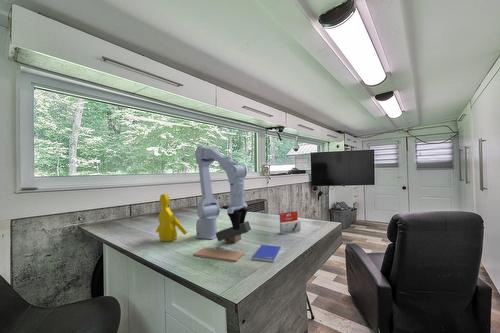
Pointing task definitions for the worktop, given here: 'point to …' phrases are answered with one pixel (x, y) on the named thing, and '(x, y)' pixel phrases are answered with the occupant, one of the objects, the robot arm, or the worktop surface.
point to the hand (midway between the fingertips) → (238, 227)
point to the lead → (233, 231)
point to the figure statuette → (167, 221)
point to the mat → (219, 254)
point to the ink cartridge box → (289, 222)
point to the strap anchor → (233, 239)
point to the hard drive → (266, 253)
